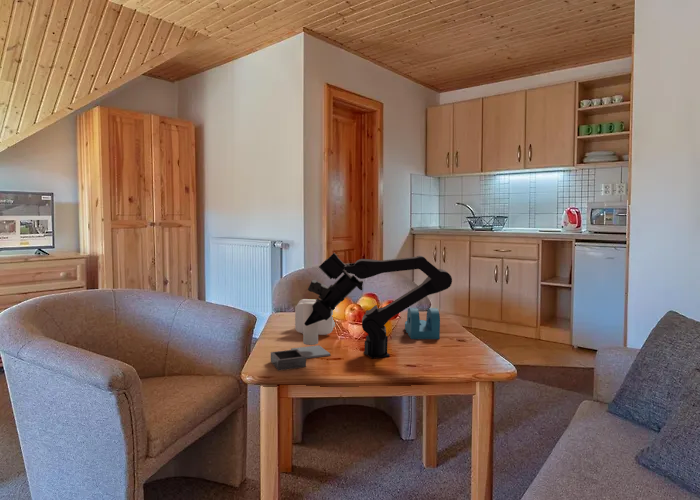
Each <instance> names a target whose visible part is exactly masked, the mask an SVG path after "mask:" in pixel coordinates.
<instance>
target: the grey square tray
mask: <svg viewBox="0 0 700 500" xmlns="http://www.w3.org/2000/svg"><path fill="white" fill-rule="evenodd" d="M270 363H271V364H272V366H274V367H275V369H277V371H278V372H279V371H287V370H294V369H299V368H306V367H307V359H306V357H305V356H304V355H303V354H302V353H301V352H300V351H299V350H297V349H294V350H291V349H289V350H288V349H286V350H278V351H271V352H270Z"/></svg>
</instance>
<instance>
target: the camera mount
mask: <svg viewBox="0 0 700 500" xmlns="http://www.w3.org/2000/svg"><path fill="white" fill-rule="evenodd" d="M405 330H406V331H405ZM404 331H405V332H406V334H407V333H408V334H407V335H408V337H409V338H410V340H440V336H441V335H440V334H441V332H440V331H441V315H440V311H439V308H437V307H429V308H427V310H426V320H424V319H421V318H420V312H419V309H418V308H417V307H414V308H413V307H411V308H410V307H408V308H407V313H406V321H405V322H404Z"/></svg>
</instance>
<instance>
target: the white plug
mask: <svg viewBox="0 0 700 500" xmlns="http://www.w3.org/2000/svg"><path fill="white" fill-rule="evenodd" d="M314 303H315V302H305V303H303V334H302V336H303V341H302V343H303V344H304V345H306V346H316V345H317V344H319V334H318V322H316V323H313V324H310V325H308V326H306V325H305V324H304V323H305V322H306V320H307V319H308V317H309V316H310V315H311V313H312V312H313V307H312V306H313V304H314Z"/></svg>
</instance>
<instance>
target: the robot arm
mask: <svg viewBox="0 0 700 500" xmlns="http://www.w3.org/2000/svg"><path fill="white" fill-rule="evenodd" d="M318 268H319V270H321V271H322V272H323V273H324V275H326V276H327V277H328V278H329V280H332V279H333V280H336V281H335V282H334V283H333V284H330V285H329V286H328V285H326V284H324V283H322V282H320V281H318V280H316V279H312V280H311V282H310V283H309V285H308V287H307V291H309V293H310V292H311V293H313V294H316V295H318V298H316V299H315V300H316V302H315V303H314V304H313V306H312V307H313V312H312V313H311V315H310V316H309V317H308V319H307V320H306V322H305V323H304V324H305V325H306V326H308V325H310V324H313V323H316V322H318V321H321V320H324V319H325V320H327V319H329V318H330V317H331V314H332V310H334V309H335V307H336V308H337V307H338V306H339V305H340V303H341V302H343V301H345V300H346V298H347V297H348V296H349V295H350V294H351V293H352V291H354V290H355V289H356V288H357V289H358V290H359V291H363V289H364V288H363V284H364V281H363V280H364V279H368V278H372V277H374V276H375V277H376V276H378V275H380V274H383V273H385V274H386V273H394V272H402V271H413V270H419V271H421V272H422V273H424V274H425V275H426V276H427V277H426V278H425V279H424V280H423V281H422V283H420V284H419V285H417V286H416V287H414V288H412V289H411V290H410V291H408V292H406V293H404V294H402V295H401V296H399V297H398V298H397V299H395V300H392V302H389V303H388V304H386V305H384V306H381V307H379V308H378V305H374V306H373V307H372V308H371V309H368V310H366V311H365V313H364V314H363V316H362V320H361V327H362V329H363V331H364V332H365V333H367V335H365V340H364V351H363V354H364V355H366V356H367V357H369V358H371V359H379V358H386V357H390V356H391V355H390V353H388V342H389V340H388V339H389V338H388V335H387V327H386V326H385V325H386V324H387V323H388V322H389V321H390V319H392V318H393V317H396V316H397V315H398V314H400V313H402V312H403V311H405V310H408V309H409V308H410V307H412V306H414V305H415V304H416V303H418V302H420V301H422V300H423V299H425V298H426V297H427V296H431V295H434V294H437V293H440V292H443V291H445V290H448V289H449V288H451V286H452V282H453V277H452V276H451V274H450V273H448V271H446V270H445V269H443V268H437V267H436V266H435V265H433V264H432V263H431V262H430V261H428V260H427V258H426V257H425V256H423V255H417V256H412V257H402V258H401V257H400V258H393V259H391V258H390V259H383V260H381V259H379V260H377V259H369V258H368V259H367V258H360V259H358V260H356V261H355V262H351V263H344V262H343V261H342V260H341V258H339V256H338V255H337V254H336V253H335V252H333V253H332V254H331V255H330V256H329V257H328V258H326V259H325V260H323V262H322V263H321V264H320V265H319V266H318ZM342 274H343V275H342ZM338 278H339V279H338ZM359 279H360V280H359Z"/></svg>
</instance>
